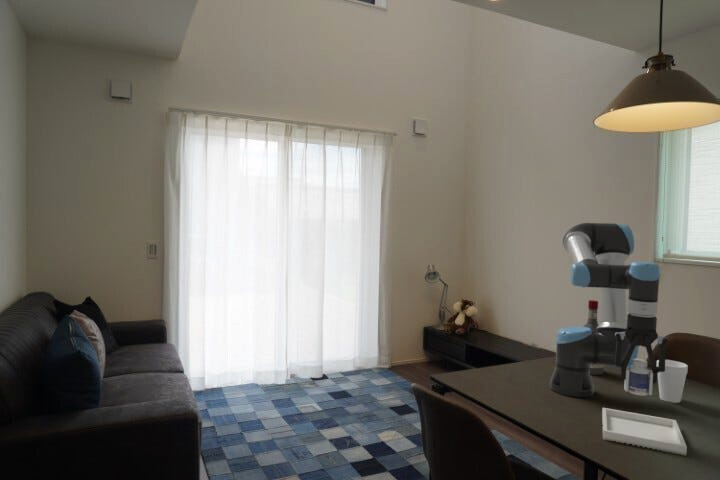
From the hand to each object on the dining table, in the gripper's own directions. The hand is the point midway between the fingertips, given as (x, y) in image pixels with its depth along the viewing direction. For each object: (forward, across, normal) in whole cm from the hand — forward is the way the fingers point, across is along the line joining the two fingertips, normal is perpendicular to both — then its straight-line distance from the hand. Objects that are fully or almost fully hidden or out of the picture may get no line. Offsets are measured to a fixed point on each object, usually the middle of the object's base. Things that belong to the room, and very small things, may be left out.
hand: (637, 391), depth 144 cm
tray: (+12, +1, -1) cm, 12 cm away
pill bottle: (+1, 0, 0) cm, 1 cm away
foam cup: (+13, +15, +37) cm, 42 cm away
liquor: (+14, -9, +60) cm, 63 cm away
